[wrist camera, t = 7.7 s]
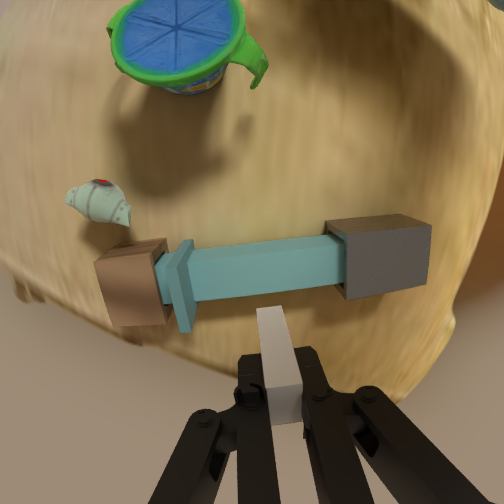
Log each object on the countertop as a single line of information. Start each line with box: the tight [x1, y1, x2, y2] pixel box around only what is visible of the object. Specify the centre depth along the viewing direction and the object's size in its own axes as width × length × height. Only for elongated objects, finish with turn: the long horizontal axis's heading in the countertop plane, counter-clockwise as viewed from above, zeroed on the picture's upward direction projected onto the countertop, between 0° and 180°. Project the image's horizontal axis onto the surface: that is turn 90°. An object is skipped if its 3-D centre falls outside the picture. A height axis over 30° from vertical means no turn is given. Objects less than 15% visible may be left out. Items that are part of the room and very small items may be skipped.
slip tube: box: [154, 234, 344, 333], centre depth 26 cm, size 6×24×9 cm, turn 96°
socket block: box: [93, 238, 173, 327], centre depth 27 cm, size 7×6×6 cm
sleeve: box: [326, 214, 432, 301], centre depth 28 cm, size 7×10×6 cm, turn 96°
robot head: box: [64, 179, 131, 227], centre depth 24 cm, size 8×4×7 cm, turn 69°
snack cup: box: [106, 0, 269, 95], centre depth 19 cm, size 16×10×10 cm
